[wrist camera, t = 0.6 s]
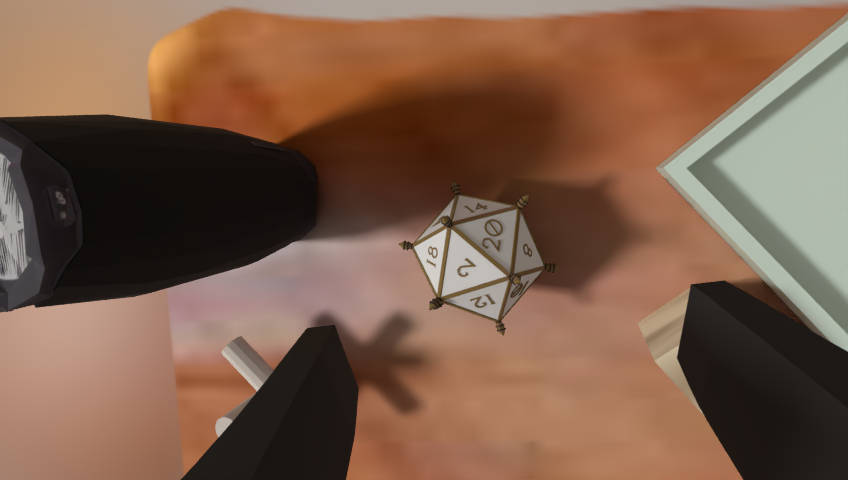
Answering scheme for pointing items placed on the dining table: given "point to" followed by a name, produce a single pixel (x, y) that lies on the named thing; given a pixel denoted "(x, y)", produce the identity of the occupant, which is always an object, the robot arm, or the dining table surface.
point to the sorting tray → (783, 181)
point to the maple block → (668, 339)
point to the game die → (479, 256)
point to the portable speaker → (138, 206)
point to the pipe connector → (243, 374)
